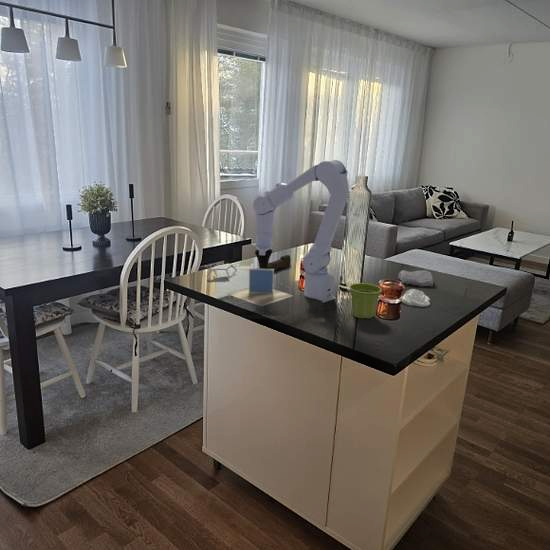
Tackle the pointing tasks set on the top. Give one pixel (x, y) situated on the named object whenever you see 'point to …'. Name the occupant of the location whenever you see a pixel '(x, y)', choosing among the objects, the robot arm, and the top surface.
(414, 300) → the white rock
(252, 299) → the board
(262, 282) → the tile
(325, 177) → the robot arm
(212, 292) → the top surface
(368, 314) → the plant pot
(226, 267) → the origami figure
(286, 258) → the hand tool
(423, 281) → the stone block
